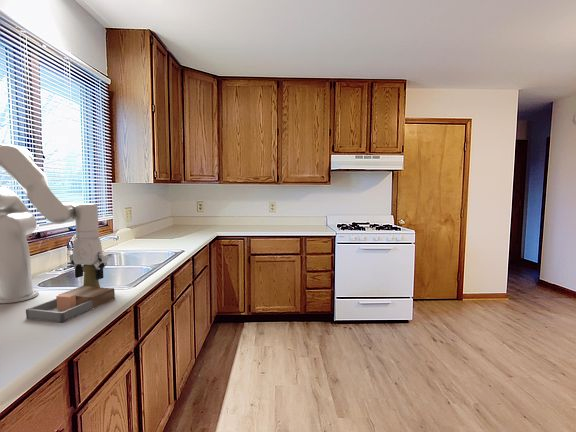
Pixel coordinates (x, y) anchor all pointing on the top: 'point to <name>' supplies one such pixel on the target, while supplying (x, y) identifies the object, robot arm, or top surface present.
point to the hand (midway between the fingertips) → (89, 277)
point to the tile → (65, 302)
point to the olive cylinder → (90, 276)
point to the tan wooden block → (92, 295)
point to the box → (50, 312)
